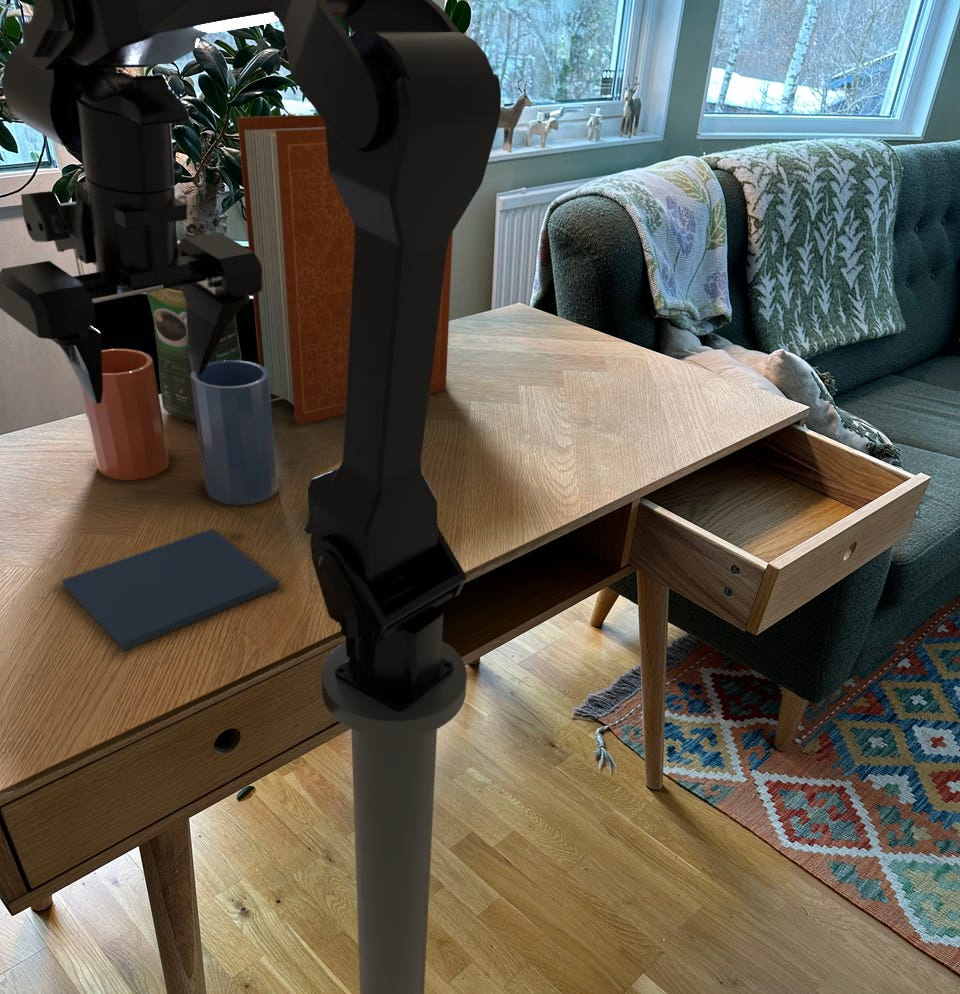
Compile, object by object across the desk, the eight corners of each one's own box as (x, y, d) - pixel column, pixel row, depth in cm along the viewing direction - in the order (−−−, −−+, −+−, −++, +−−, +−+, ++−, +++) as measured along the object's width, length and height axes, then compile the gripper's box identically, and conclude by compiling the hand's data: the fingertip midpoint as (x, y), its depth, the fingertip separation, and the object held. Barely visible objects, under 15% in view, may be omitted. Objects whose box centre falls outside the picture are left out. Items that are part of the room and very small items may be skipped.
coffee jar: (261, 411, 105) (246, 245, 94) (215, 433, 99) (193, 260, 88) (199, 391, 108) (177, 229, 97) (151, 412, 102) (122, 242, 91)
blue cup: (292, 487, 90) (283, 373, 83) (240, 512, 86) (226, 394, 78) (244, 466, 93) (232, 354, 86) (192, 489, 89) (174, 373, 82)
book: (296, 425, 102) (276, 130, 84) (262, 401, 107) (237, 117, 89) (452, 388, 114) (465, 123, 96) (415, 367, 119) (421, 111, 101)
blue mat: (213, 535, 82) (212, 528, 82) (278, 588, 76) (278, 580, 76) (63, 587, 74) (61, 579, 74) (123, 651, 68) (122, 642, 68)
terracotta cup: (183, 464, 93) (167, 361, 86) (126, 487, 88) (105, 380, 82) (140, 444, 96) (122, 343, 89) (83, 465, 91) (60, 361, 85)
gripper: (176, 131, 69) (186, 321, 80) (-71, 150, 57) (-21, 371, 68) (268, 180, 65) (265, 374, 75) (21, 212, 53) (59, 437, 64)
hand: (148, 386), depth 71 cm, fingers open, 9 cm apart
